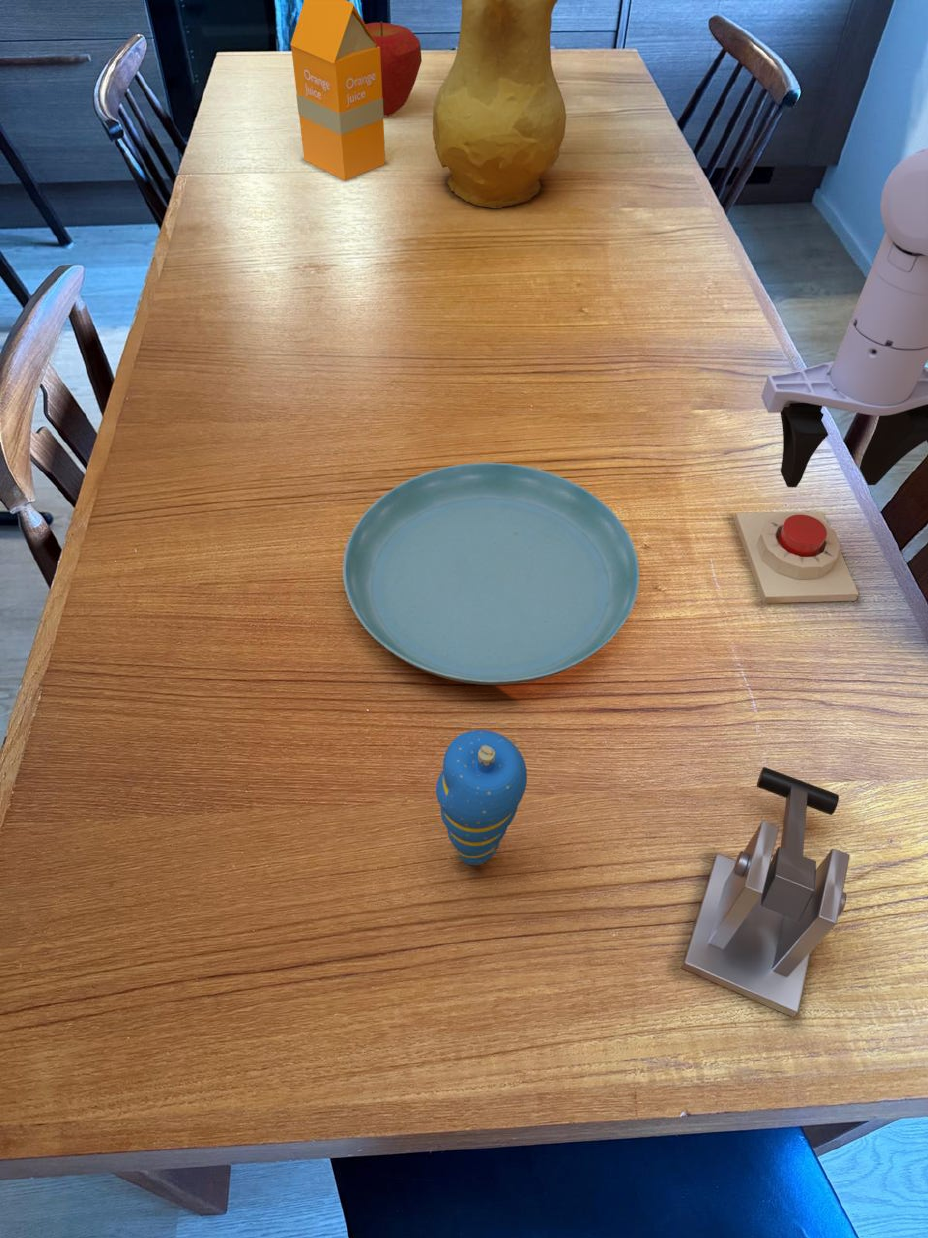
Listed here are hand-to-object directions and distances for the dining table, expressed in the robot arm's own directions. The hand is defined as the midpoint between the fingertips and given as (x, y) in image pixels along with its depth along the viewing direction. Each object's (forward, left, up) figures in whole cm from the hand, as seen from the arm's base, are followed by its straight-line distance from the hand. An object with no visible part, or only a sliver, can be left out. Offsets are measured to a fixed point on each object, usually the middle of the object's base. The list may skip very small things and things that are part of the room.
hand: (828, 477), depth 71 cm
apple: (+76, -68, -10) cm, 102 cm away
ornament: (+14, +37, -10) cm, 41 cm away
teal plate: (+23, +14, -10) cm, 29 cm away
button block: (0, 0, -9) cm, 9 cm away
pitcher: (+51, -54, -10) cm, 74 cm away
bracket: (-4, +34, -9) cm, 36 cm away
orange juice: (+73, -50, -10) cm, 89 cm away
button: (0, 0, -7) cm, 7 cm away
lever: (-4, +31, -5) cm, 31 cm away
